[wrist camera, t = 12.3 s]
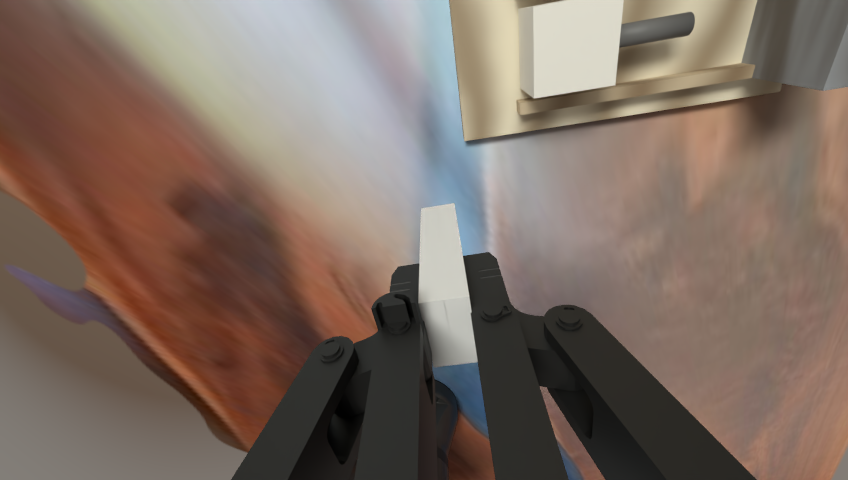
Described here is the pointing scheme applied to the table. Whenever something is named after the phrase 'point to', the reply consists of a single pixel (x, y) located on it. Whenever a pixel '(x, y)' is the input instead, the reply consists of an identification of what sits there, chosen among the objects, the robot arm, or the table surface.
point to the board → (651, 61)
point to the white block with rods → (583, 43)
